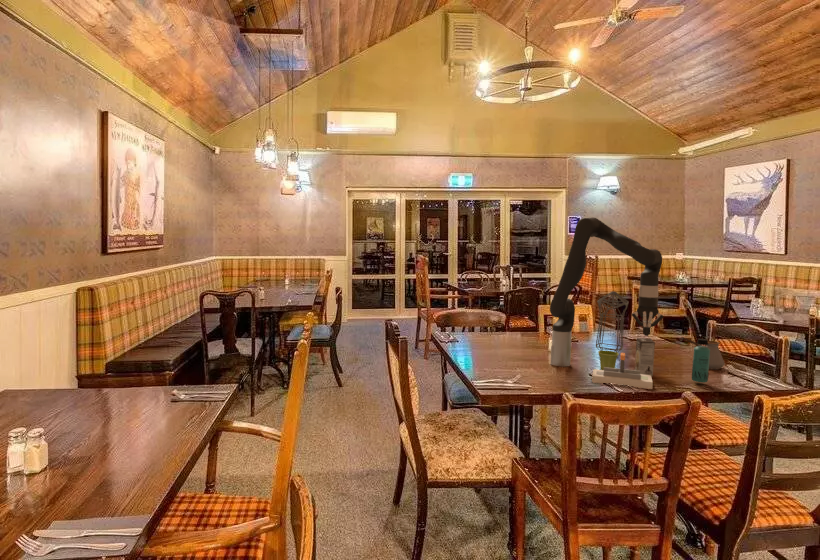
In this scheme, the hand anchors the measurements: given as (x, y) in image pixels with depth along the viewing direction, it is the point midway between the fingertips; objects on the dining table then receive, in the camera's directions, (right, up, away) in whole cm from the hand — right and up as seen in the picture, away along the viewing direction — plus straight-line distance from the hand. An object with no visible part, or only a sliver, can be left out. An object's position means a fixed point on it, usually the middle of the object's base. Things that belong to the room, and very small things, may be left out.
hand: (646, 335), depth 219 cm
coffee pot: (+43, -20, +34) cm, 58 cm away
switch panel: (-9, -21, +5) cm, 23 cm away
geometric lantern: (+7, -17, +58) cm, 61 cm away
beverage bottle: (+26, -22, +4) cm, 34 cm away
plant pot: (-7, -20, +25) cm, 33 cm away
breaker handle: (-9, -18, +5) cm, 21 cm away
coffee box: (+9, -20, +21) cm, 30 cm away
